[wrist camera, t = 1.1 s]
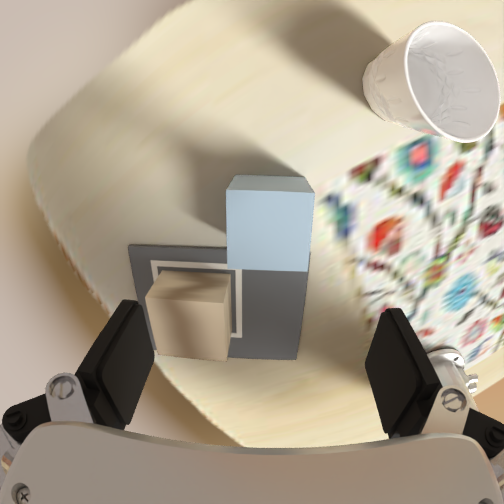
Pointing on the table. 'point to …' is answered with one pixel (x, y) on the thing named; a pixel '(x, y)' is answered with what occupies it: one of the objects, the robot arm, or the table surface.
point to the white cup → (435, 83)
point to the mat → (235, 298)
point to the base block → (191, 314)
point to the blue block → (269, 222)
